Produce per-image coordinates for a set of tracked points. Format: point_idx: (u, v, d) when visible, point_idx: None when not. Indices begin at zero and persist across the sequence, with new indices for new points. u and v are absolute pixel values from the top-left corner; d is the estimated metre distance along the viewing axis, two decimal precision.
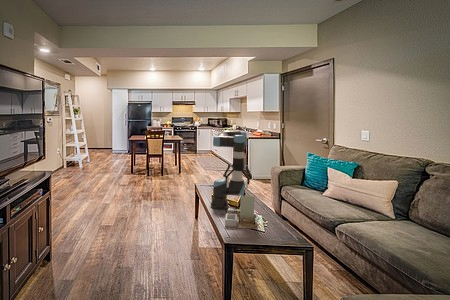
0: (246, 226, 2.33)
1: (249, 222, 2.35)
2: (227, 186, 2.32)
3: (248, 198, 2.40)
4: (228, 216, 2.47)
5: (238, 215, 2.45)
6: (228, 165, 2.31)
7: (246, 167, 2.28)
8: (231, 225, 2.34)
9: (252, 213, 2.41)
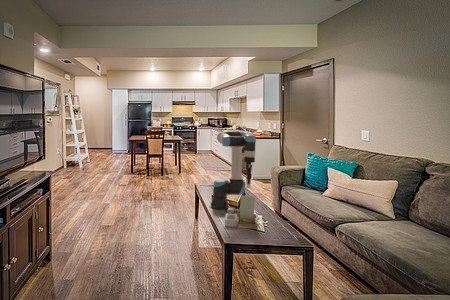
0: (246, 226, 2.33)
1: (249, 222, 2.35)
2: (246, 182, 2.47)
3: (248, 198, 2.40)
4: (228, 216, 2.47)
5: (238, 215, 2.45)
6: (247, 163, 2.45)
7: (247, 166, 2.33)
8: (231, 225, 2.34)
9: (252, 213, 2.41)
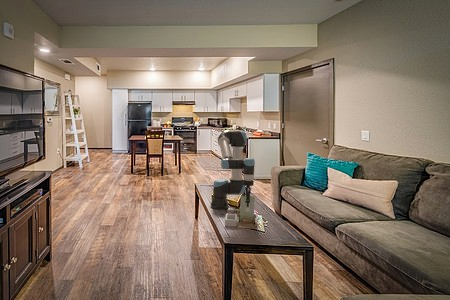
0: (246, 226, 2.33)
1: (250, 222, 2.35)
2: None
3: None
4: (228, 216, 2.47)
5: (238, 215, 2.45)
6: (246, 185, 2.47)
7: (246, 190, 2.35)
8: (231, 225, 2.34)
9: (252, 213, 2.41)
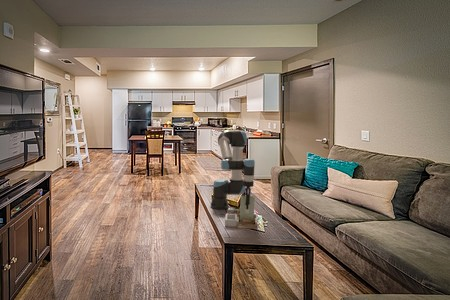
0: (246, 226, 2.33)
1: (250, 222, 2.35)
2: None
3: None
4: (228, 216, 2.47)
5: (238, 215, 2.45)
6: None
7: None
8: (231, 225, 2.34)
9: (252, 213, 2.41)
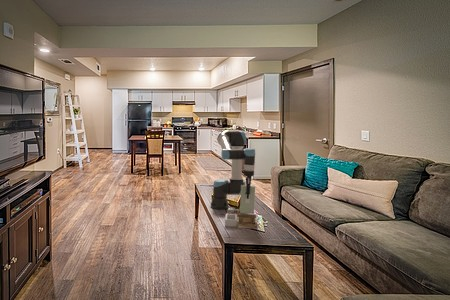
0: (246, 226, 2.33)
1: (250, 222, 2.36)
2: None
3: None
4: (228, 216, 2.47)
5: (238, 215, 2.45)
6: None
7: (246, 182, 2.35)
8: (231, 225, 2.34)
9: (252, 203, 2.41)
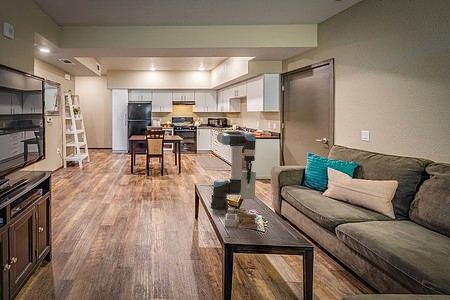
0: (246, 226, 2.33)
1: (250, 222, 2.36)
2: None
3: None
4: (228, 216, 2.47)
5: (238, 215, 2.45)
6: None
7: (247, 166, 2.34)
8: (231, 225, 2.34)
9: (253, 188, 2.39)
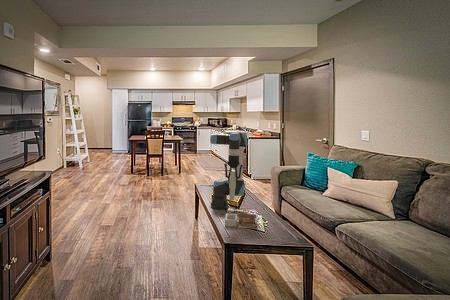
0: (246, 226, 2.33)
1: (250, 222, 2.35)
2: None
3: None
4: (228, 216, 2.47)
5: (238, 215, 2.45)
6: (224, 165, 2.36)
7: (241, 166, 2.35)
8: (231, 225, 2.34)
9: None
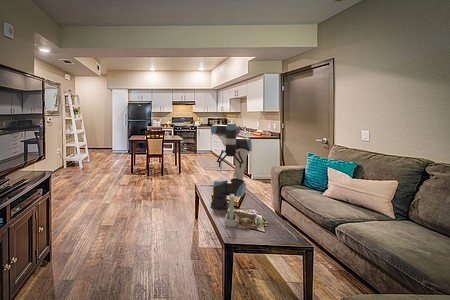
0: (246, 226, 2.33)
1: (250, 222, 2.36)
2: (220, 170, 2.52)
3: None
4: (228, 216, 2.47)
5: (238, 215, 2.45)
6: (221, 151, 2.51)
7: (238, 152, 2.50)
8: (231, 225, 2.34)
9: None
